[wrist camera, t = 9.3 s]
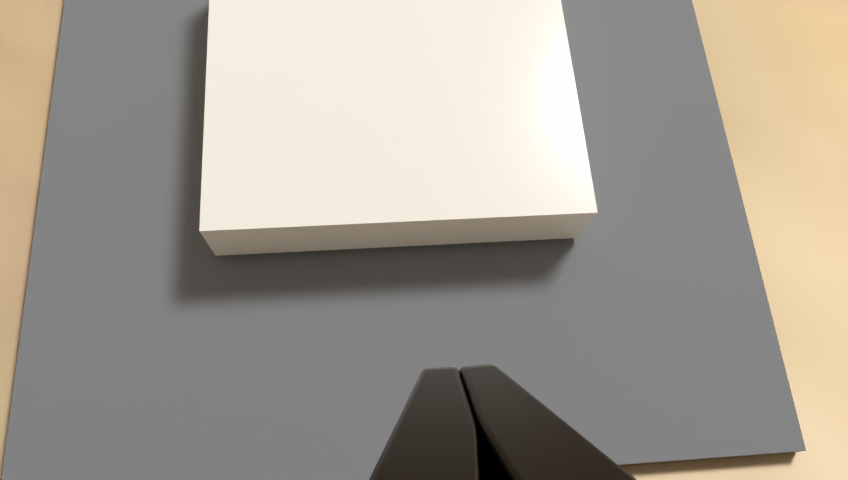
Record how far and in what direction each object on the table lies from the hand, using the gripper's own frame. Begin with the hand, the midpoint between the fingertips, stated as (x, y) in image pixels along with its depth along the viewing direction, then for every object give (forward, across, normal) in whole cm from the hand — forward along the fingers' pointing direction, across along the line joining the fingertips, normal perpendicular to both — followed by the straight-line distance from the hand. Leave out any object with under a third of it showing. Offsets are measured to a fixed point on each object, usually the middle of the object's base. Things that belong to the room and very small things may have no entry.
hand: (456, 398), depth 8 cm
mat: (+14, 0, +1) cm, 14 cm away
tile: (+10, 0, +2) cm, 10 cm away
